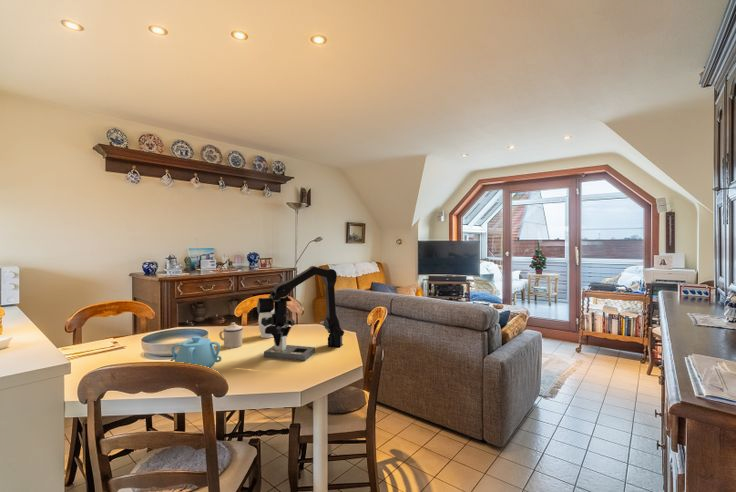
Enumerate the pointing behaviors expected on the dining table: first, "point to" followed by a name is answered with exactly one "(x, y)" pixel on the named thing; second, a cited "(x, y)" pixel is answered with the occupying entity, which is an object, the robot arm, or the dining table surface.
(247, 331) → the dining table surface
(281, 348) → the plug
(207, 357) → the decorative pot
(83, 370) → the dining table surface
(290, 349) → the grey socket board
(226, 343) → the teacup with lid
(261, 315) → the jar
